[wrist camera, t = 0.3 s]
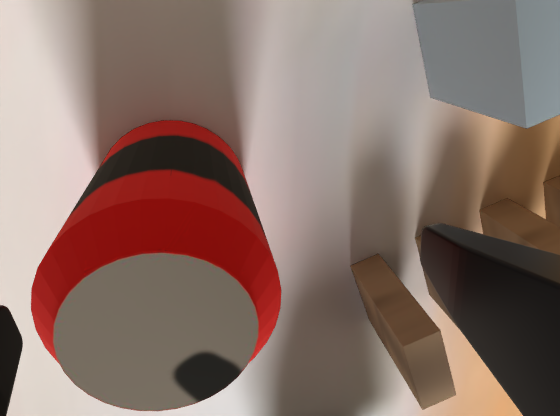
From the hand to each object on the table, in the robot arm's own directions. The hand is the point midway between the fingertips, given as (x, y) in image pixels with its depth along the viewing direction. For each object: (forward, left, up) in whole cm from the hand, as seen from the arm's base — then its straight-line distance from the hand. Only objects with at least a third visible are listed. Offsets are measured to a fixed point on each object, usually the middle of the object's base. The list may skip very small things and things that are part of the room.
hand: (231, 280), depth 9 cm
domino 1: (-14, -6, -14) cm, 21 cm away
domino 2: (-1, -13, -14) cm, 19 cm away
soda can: (-2, +3, -14) cm, 15 cm away
